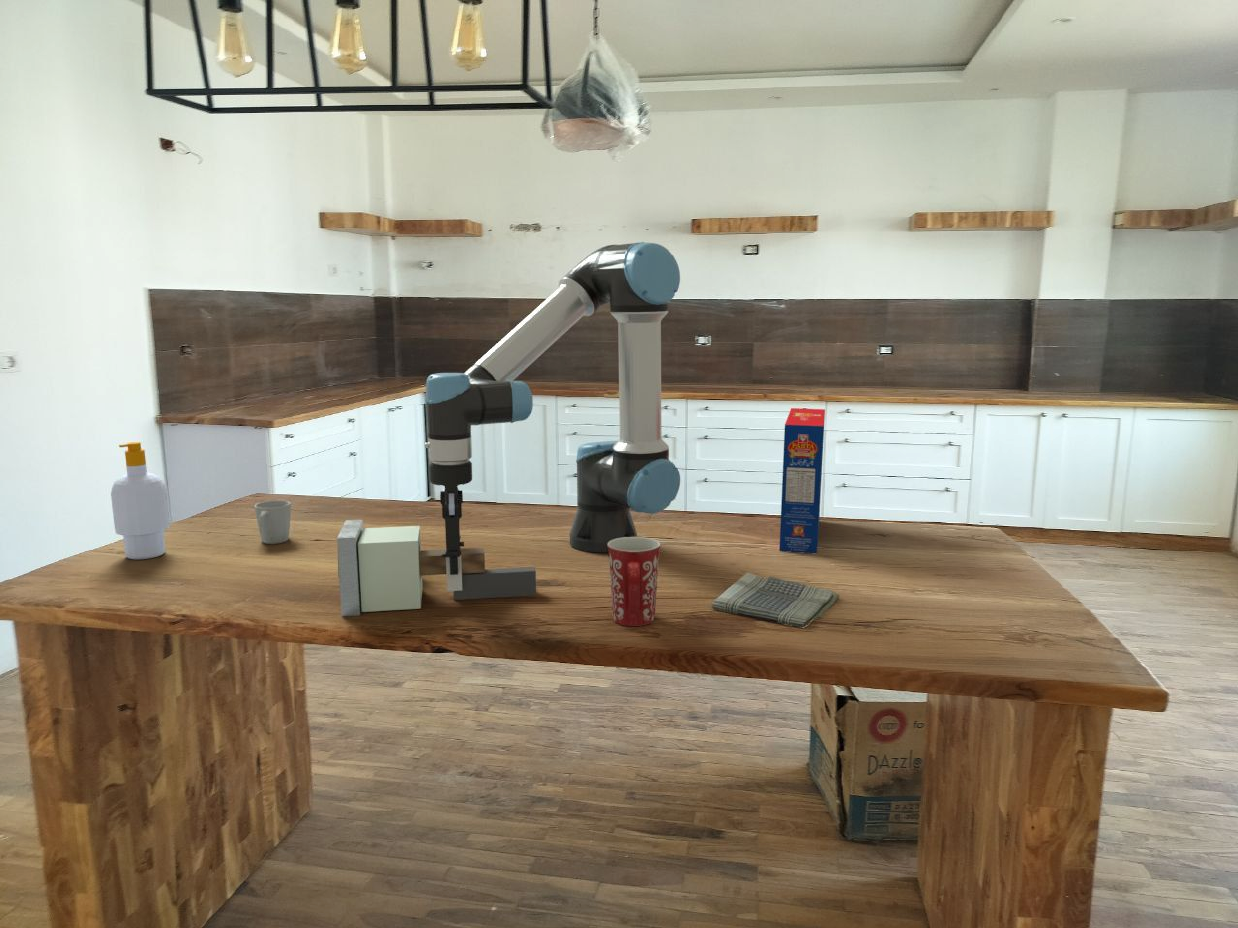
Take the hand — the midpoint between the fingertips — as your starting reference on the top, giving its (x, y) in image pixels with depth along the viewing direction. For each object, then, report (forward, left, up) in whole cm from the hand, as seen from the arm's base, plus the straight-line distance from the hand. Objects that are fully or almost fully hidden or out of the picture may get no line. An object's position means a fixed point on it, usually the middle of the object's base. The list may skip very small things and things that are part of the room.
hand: (454, 585), depth 156 cm
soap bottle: (+65, -38, -2) cm, 75 cm away
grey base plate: (+18, 0, -2) cm, 18 cm away
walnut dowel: (+3, 0, +3) cm, 4 cm away
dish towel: (-57, +13, -3) cm, 59 cm away
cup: (+40, -43, -2) cm, 59 cm away
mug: (-30, +18, -2) cm, 35 cm away
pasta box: (-79, -29, -3) cm, 84 cm away
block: (+11, 0, -2) cm, 11 cm away
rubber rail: (-7, 0, -2) cm, 8 cm away
